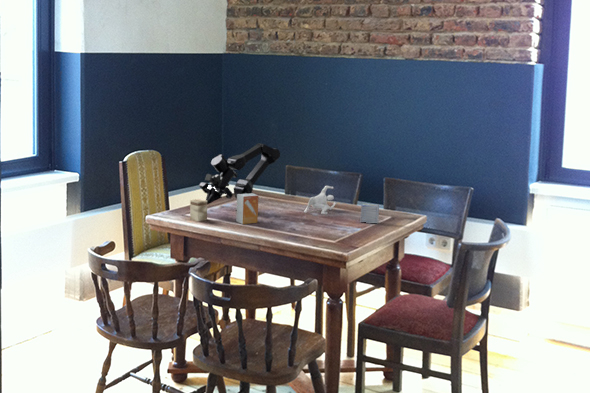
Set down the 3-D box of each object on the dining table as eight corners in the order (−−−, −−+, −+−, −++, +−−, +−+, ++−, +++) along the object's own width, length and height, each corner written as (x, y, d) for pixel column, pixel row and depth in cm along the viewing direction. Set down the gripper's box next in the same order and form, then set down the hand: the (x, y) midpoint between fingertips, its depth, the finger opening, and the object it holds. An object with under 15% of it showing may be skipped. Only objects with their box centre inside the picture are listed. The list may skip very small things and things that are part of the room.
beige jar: (199, 217, 309) (199, 198, 308) (207, 219, 306) (207, 200, 304) (190, 219, 305) (190, 200, 304) (197, 221, 302) (198, 202, 300)
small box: (242, 224, 299) (243, 196, 297) (235, 221, 304) (236, 193, 302) (258, 222, 303) (258, 195, 301) (251, 220, 309) (251, 192, 306)
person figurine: (323, 194, 323) (332, 182, 339) (299, 197, 327) (309, 185, 343) (329, 218, 326) (338, 206, 342) (305, 221, 331) (315, 208, 347)
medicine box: (378, 222, 314) (379, 204, 312) (376, 224, 310) (377, 206, 308) (362, 220, 316) (363, 203, 315) (360, 222, 312) (361, 204, 311)
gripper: (202, 165, 314) (183, 190, 308) (228, 170, 302) (209, 196, 296) (214, 180, 322) (196, 205, 316) (240, 185, 309) (222, 211, 303)
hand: (205, 204), depth 307 cm, fingers closed
